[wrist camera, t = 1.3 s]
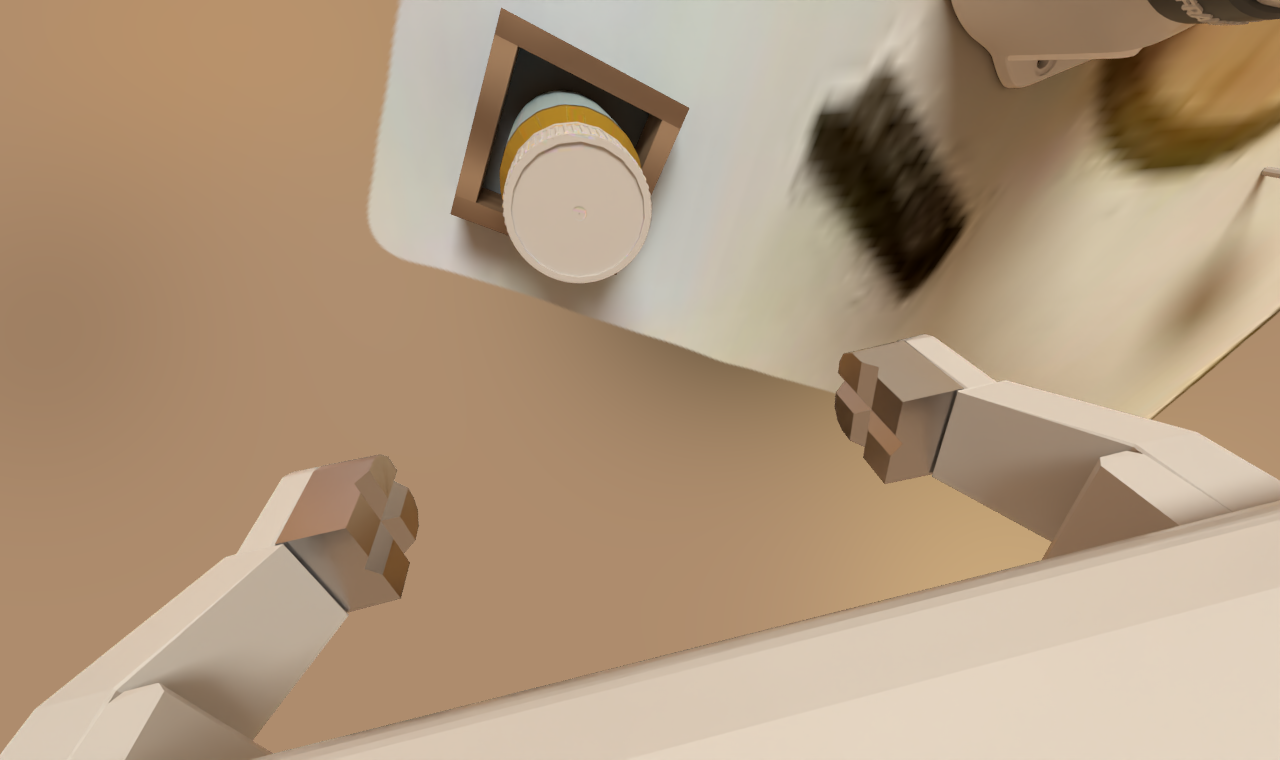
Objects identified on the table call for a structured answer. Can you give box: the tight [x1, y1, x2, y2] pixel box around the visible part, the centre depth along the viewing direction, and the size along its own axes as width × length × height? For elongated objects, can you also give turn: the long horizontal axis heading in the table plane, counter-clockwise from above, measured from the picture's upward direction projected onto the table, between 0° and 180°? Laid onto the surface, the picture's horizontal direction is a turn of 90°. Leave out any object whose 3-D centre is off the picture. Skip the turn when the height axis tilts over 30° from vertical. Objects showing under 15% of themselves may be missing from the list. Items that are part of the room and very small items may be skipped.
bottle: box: [500, 90, 652, 283], centre depth 26 cm, size 7×7×15 cm
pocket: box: [451, 8, 689, 275], centre depth 31 cm, size 11×11×4 cm
